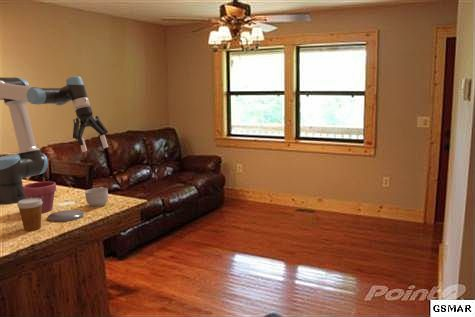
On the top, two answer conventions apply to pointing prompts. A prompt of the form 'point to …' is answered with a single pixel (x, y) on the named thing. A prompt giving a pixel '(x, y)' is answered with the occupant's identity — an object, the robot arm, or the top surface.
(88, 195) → the teacup
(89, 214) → the top surface
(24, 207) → the disposable coffee cup
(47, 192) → the plant pot
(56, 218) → the gray dome
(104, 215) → the top surface
